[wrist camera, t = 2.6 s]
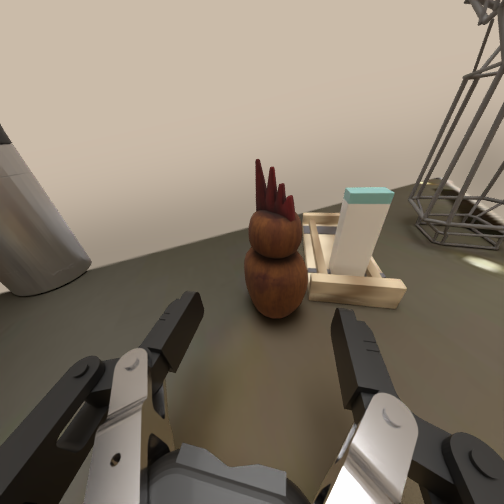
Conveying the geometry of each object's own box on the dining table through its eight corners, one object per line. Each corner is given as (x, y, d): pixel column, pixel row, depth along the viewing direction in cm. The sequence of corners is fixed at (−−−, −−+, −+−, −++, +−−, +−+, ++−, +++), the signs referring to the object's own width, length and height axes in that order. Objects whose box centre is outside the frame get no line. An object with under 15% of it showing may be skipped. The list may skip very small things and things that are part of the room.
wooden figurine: (241, 291, 23) (224, 160, 15) (281, 278, 25) (287, 153, 16) (262, 337, 18) (254, 171, 9) (312, 317, 19) (343, 160, 11)
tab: (331, 275, 22) (350, 193, 17) (328, 265, 24) (345, 187, 18) (363, 277, 22) (394, 193, 16) (358, 267, 23) (385, 187, 18)
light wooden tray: (308, 300, 21) (312, 281, 19) (301, 226, 37) (303, 212, 36) (395, 309, 19) (407, 288, 18) (348, 227, 36) (352, 213, 34)
